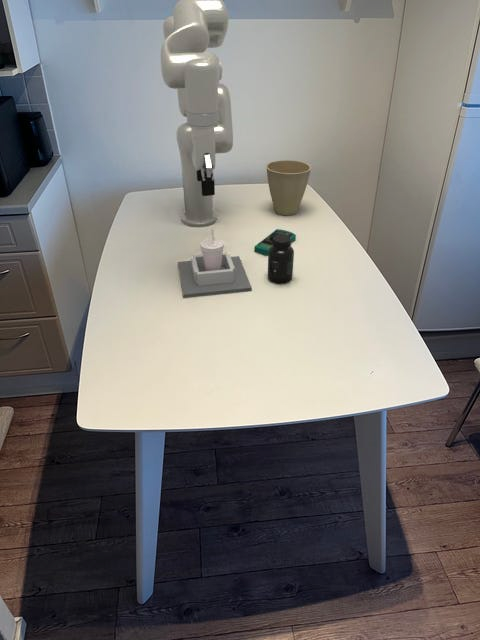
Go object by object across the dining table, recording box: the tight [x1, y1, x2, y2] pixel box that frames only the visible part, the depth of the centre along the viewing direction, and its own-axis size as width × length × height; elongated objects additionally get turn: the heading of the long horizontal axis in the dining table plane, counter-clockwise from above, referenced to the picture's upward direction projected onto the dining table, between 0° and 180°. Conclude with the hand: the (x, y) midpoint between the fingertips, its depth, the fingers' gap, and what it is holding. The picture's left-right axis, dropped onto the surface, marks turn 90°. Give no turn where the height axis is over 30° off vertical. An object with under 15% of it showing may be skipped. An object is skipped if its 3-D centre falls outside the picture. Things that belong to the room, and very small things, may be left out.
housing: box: [177, 252, 253, 299], centre depth 134 cm, size 18×18×4 cm
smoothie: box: [199, 228, 225, 271], centre depth 130 cm, size 6×6×14 cm
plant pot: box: [266, 159, 312, 216], centre depth 168 cm, size 15×15×16 cm
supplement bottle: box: [267, 235, 295, 285], centre depth 131 cm, size 7×7×12 cm
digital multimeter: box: [253, 228, 297, 257], centre depth 150 cm, size 7×15×3 cm, turn 149°
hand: (205, 187), depth 126 cm, fingers open, 9 cm apart
